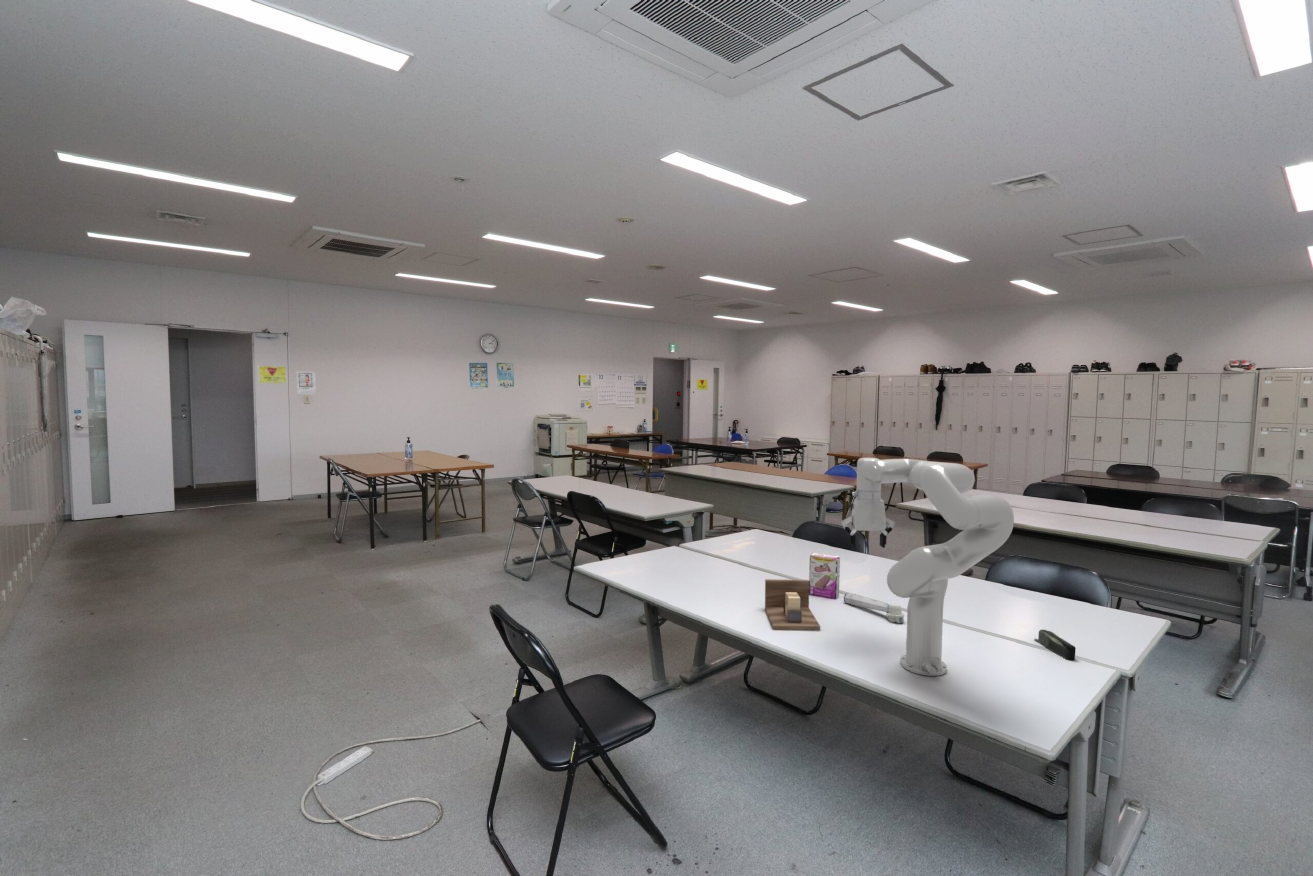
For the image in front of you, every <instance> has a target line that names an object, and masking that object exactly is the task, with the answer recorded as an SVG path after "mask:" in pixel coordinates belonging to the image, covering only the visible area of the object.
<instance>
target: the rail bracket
mask: <svg viewBox="0 0 1313 876" xmlns="http://www.w3.org/2000/svg"><path fill="white" fill-rule="evenodd" d="M788 610H800V597H799V595H798V594H797V593H796V592H786V597H785V615H786V616H787V618H788Z"/></svg>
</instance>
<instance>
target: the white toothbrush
mask: <svg viewBox="0 0 1313 876" xmlns="http://www.w3.org/2000/svg"><path fill="white" fill-rule="evenodd" d="M843 602H844V603H845V604H847V603H848V604H847V605H850V604H851V606H852V605H855V606H854V607H860V608H865V609H869V610H875V611H879V612H883V613H885V615H886V617H887V621H889V623H892V624H894V623H897V624H902V623H904V622H905V620H904V617H905V613H903V612H902V607H901V605H900V604H897V603H886V602H883V601H880V600H876V599H872V598H868V597H865V596H861V595H857V594H856V593H853V594H852V593H845V594H844V596H843Z"/></svg>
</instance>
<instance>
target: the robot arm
mask: <svg viewBox="0 0 1313 876" xmlns="http://www.w3.org/2000/svg"><path fill="white" fill-rule="evenodd" d="M975 482H976V478H975V474H974V471H972V470H971V468H970V467H968V466H966V465H964V464H961V463H956V462H943V461H942V462H940V461H929V460H921V459H910V458H891V459H890V458H887V459H879V458H878V457H860V458H858V460H857V462H856V490H855V491H852V493H851V494H852V496H853V497H855V498H853V499H854V501H853V504H852V510H851V515H850V516H849V517H847V518H844V519H843V520H841V521H840V522H841V523H840V524H841V526H842V527H843V529H844V530H845V531H846V533H847V534H848V544H849V545H850V547H852V548H855V547H856V535H855V534H856V532H858V531H867V532H871V531H873V532H876V531H877V532H878V531H879V532H880V534H879V547H881V548H884V549H885V548H886V546H887V536H888V535H889V534H890V533H891V532H892V530H893V528H895V527H894V526H895V525H896V522H895V521H894V520H892V519H890V518H888V517H886V506H885V502H884V499H882V497H881V496H882V484H893V483H911V484H913V486H914V487H915V488H917V489H918V490H922V491H923V493H924V494H925V496H926V497H927V499H928V500H929V502H930V503H931V504H932V505H933V506H934V507H935V509H936V510H937V512H938V513H939V514H940V516H941V517H942V518H943V520H945V522H946V523H947V524H949V526H951V527H952V528H953V529H956V530H959V531H960V530H961V532H959V533H958V534H956V535H955V536H954V537H953V538H951V539H950V540H949V539H948V541H946V542H942V543H938V544H932V545H931V544H930V545H924V546H920V547H918V548H915V549H913V550H912V551H910V552H909V553H907V554H906V555H905V556H904V557H902V558H901V559H899V560H898V561H897V562H896V563H895V564H893V565H892V566H891V568H890V569H888V573H887V576H886V583H887V587H888V589H889V590H890V592H891V593H892V594H893V595H895V596H896V597H899V598H903V599H907V598H908V602H907V608H906V609H907V612H906V639H905V640H906V642H905V645H906V646H905V647H906V648H905V650H906V651H905V654H903V655H902V656H901V657H900V658H899V659H900V661H899V664H900V665H901V667H903V668H904V669H905V670H907V671H909V672H911V673H913V674H916V675H920V676H928V677H938V676H943V675H944V674H946V673H947V671H948V665H947V664H946V663H945V662H944V661H943V660H942V654H943V651H942V649H943V623H944V618H943V617H944V606H945V605H944V604H945V596H946V593H947V590H948V583H949V579H953V578H954V579H955V578H957V577H959V576H960V575H962V574H963V573H965V572H967V570H969V569H971V568H973V566H975V565H976V564H978V563H979V562H981V561H982V560H983V559H985V558H986V557H988V556H990V555H991V554H992V553H994V552H995V551H997V550H998V549H999V548H1000V547H1002V546H1003V545H1004V544H1005V542H1007V540H1008V539H1009V538H1010V535H1011V534H1012V531H1013V529H1014V523H1015V515H1014V511H1013V508H1012V505H1011V504H1010V503H1009V502H1008V501H1007V500H1006V499H1004V498H1002V497H1000V496H997V495H992V494H982V495H970V496H969V495H968V496H965V495H964V496H963V494H965V493H966V492H968V491H970V490H971V489H972V488H973V486H974V485H975ZM849 523H851V524H850V525H851V527H850V528H849V526H848V524H849ZM887 523H888V526H887V525H886V524H887Z"/></svg>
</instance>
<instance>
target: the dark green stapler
mask: <svg viewBox="0 0 1313 876" xmlns="http://www.w3.org/2000/svg"><path fill="white" fill-rule="evenodd" d="M1033 640H1034V641H1035V642H1036V643H1037V642H1038V643H1039V644H1041V645H1042V646H1044V647H1045V648H1047V649H1048V650H1050V651H1051V652H1053V653H1054V654H1056V655H1058V656H1059V655H1060V656H1059V657H1061V656H1062V657H1063V659H1064V658H1065V659H1064V660H1067V659H1068V661H1075V660H1076V649H1077V647H1076V646H1075V645H1074V644H1071V643H1069V642H1068V641H1066V640H1065V639H1064V638H1062V637H1060V636H1058V634H1056V633H1054V632H1053V631H1052V630H1051V631H1050V630H1047V629H1040V630H1038V638H1034V639H1033ZM1062 657H1061V658H1062Z"/></svg>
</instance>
